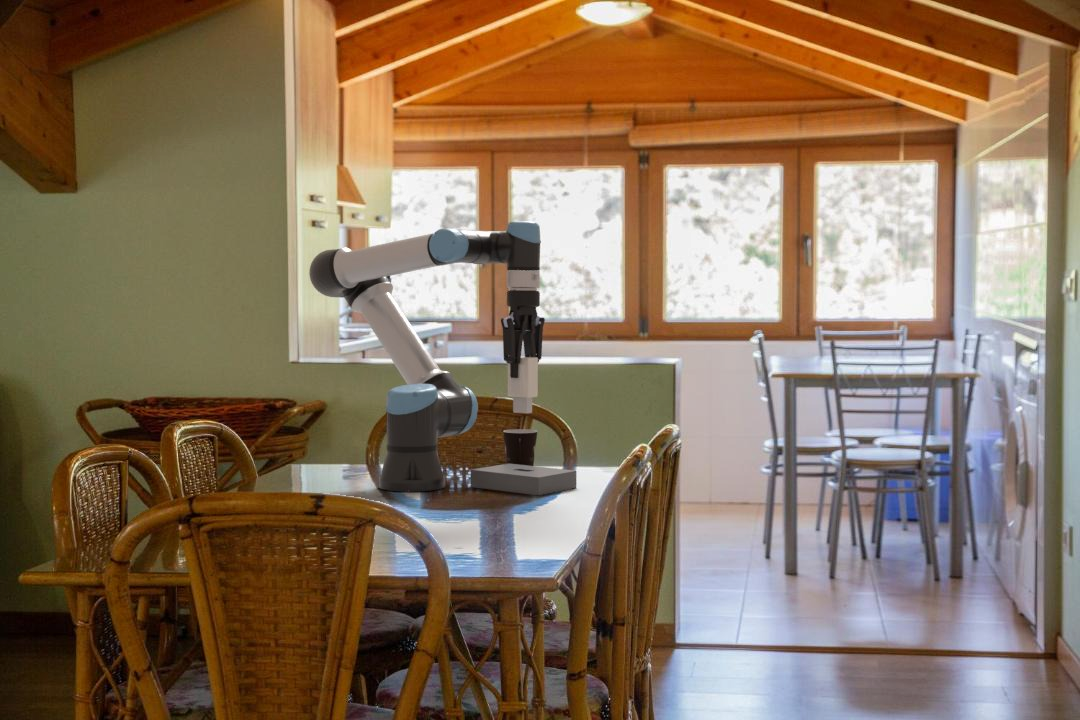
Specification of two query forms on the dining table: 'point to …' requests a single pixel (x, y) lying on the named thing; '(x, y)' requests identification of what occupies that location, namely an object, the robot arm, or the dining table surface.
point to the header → (523, 479)
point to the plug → (525, 385)
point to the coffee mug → (520, 446)
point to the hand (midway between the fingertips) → (522, 391)
